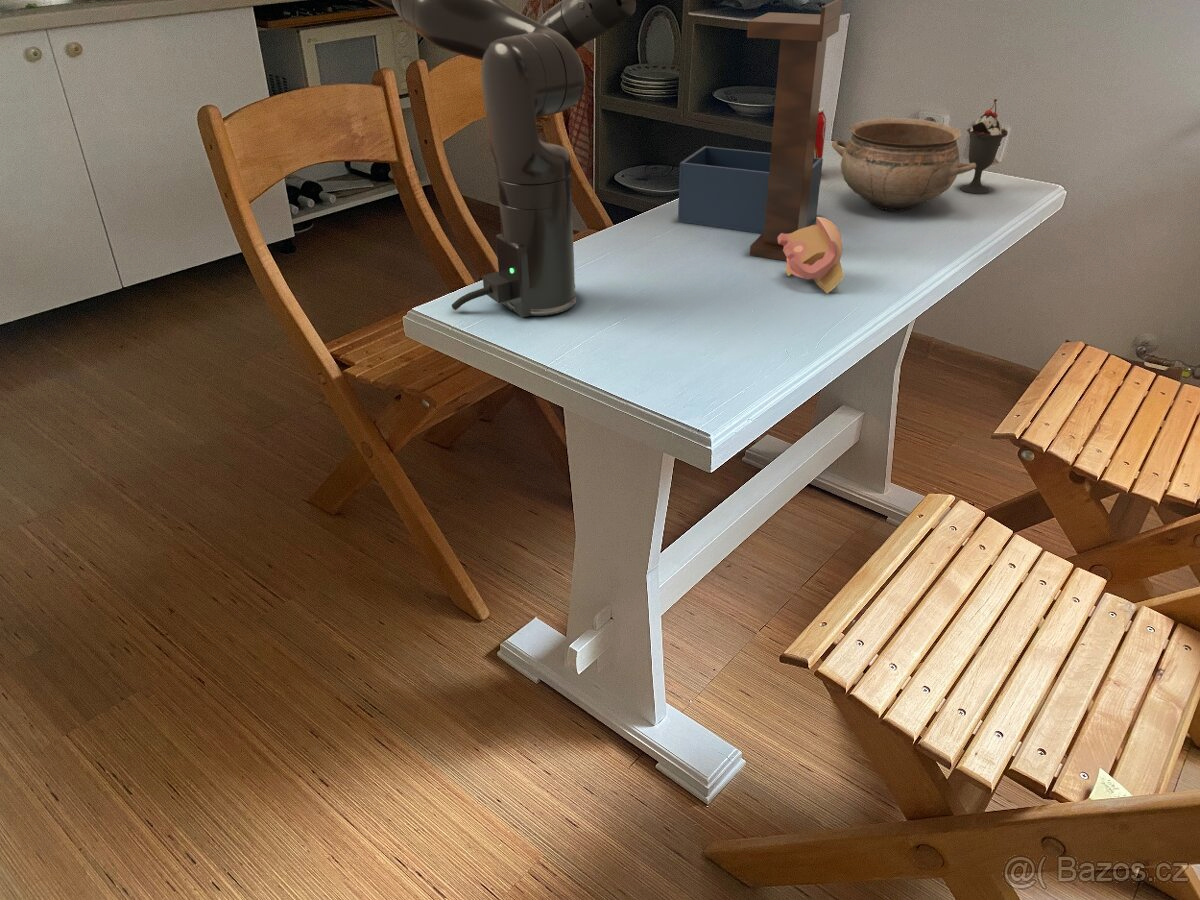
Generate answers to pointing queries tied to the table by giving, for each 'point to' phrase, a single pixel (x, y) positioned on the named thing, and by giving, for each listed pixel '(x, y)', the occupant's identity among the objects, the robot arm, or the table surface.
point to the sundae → (983, 147)
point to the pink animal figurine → (815, 253)
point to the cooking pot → (900, 161)
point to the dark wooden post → (793, 117)
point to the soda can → (820, 134)
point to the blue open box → (732, 189)
